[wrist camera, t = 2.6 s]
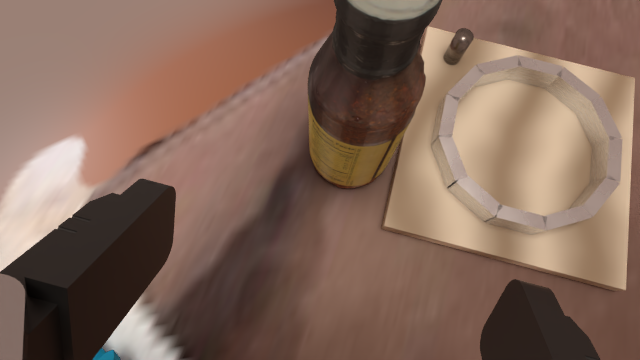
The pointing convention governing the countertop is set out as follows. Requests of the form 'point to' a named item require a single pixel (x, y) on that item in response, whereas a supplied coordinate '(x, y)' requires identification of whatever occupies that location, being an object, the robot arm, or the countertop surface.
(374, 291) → the countertop surface
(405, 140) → the maple board
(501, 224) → the white segmented ring
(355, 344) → the countertop surface
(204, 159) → the countertop surface
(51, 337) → the robot arm
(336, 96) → the sauce bottle
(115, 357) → the teal virus model
